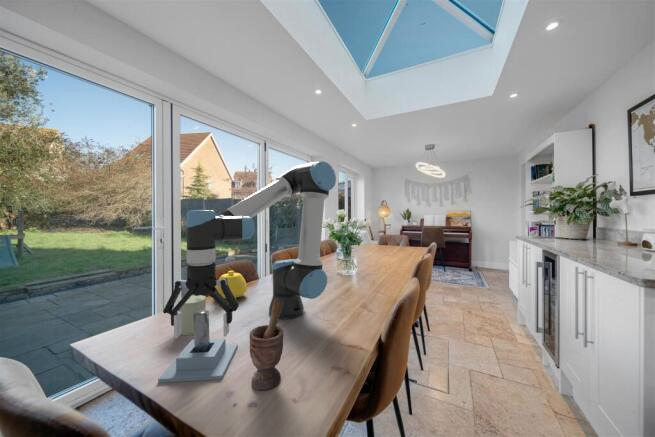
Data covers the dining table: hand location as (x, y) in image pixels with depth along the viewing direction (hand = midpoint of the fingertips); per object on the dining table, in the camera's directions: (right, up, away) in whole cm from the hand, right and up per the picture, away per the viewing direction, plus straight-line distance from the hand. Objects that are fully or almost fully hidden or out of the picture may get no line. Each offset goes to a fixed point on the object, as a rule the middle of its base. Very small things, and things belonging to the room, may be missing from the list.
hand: (202, 335), depth 74 cm
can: (-14, -8, +21) cm, 26 cm away
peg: (0, -7, 0) cm, 7 cm away
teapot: (-13, -7, +53) cm, 55 cm away
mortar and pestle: (+21, -9, -6) cm, 23 cm away
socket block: (0, -8, 0) cm, 8 cm away
